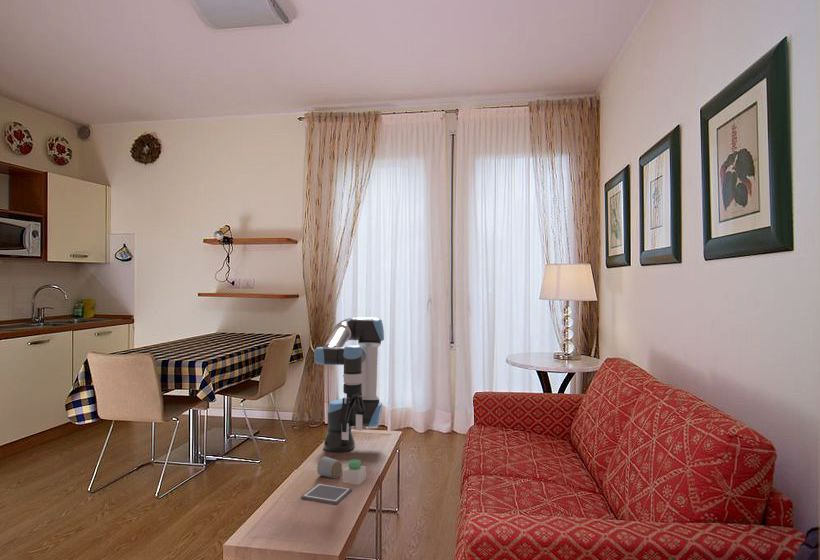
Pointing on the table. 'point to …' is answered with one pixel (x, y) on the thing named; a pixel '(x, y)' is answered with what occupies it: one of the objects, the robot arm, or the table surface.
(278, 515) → the table surface
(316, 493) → the mat
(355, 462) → the button
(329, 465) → the ceramic mug
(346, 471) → the button box
